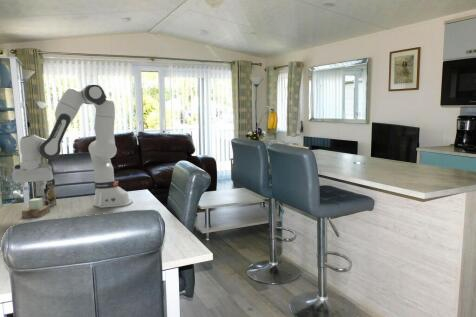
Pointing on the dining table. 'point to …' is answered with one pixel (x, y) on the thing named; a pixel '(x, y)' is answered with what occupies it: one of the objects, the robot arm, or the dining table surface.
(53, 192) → the coffee box
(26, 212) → the walnut block
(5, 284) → the dining table surface
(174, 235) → the dining table surface
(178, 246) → the dining table surface
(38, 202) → the sage cube
